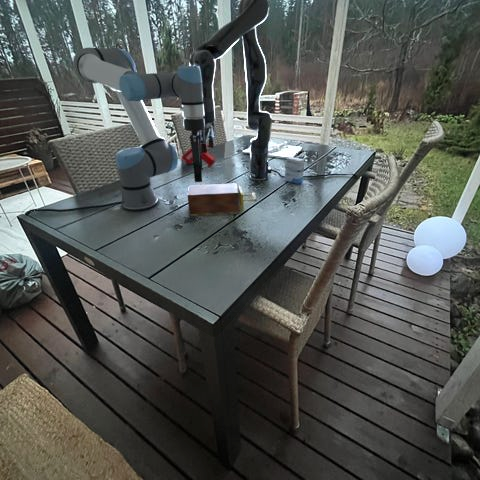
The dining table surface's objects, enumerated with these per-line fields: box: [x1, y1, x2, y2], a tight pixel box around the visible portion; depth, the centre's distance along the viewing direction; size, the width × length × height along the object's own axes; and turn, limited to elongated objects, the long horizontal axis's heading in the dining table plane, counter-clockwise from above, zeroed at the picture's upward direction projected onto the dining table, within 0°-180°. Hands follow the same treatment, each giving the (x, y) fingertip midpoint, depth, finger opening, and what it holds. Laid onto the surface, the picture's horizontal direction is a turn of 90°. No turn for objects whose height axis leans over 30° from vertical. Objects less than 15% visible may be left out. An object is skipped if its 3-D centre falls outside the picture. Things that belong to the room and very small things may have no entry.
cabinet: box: [187, 182, 240, 217], centre depth 113 cm, size 20×10×9 cm, turn 96°
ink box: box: [284, 156, 306, 185], centre depth 140 cm, size 8×5×12 cm, turn 47°
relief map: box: [242, 138, 304, 160], centre depth 192 cm, size 27×35×5 cm
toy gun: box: [181, 143, 216, 167], centre depth 167 cm, size 18×4×15 cm
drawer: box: [237, 185, 258, 212], centre depth 114 cm, size 25×9×7 cm, turn 96°
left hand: (199, 175), depth 107 cm, fingers open, 13 cm apart
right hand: (208, 150), depth 120 cm, fingers open, 8 cm apart
